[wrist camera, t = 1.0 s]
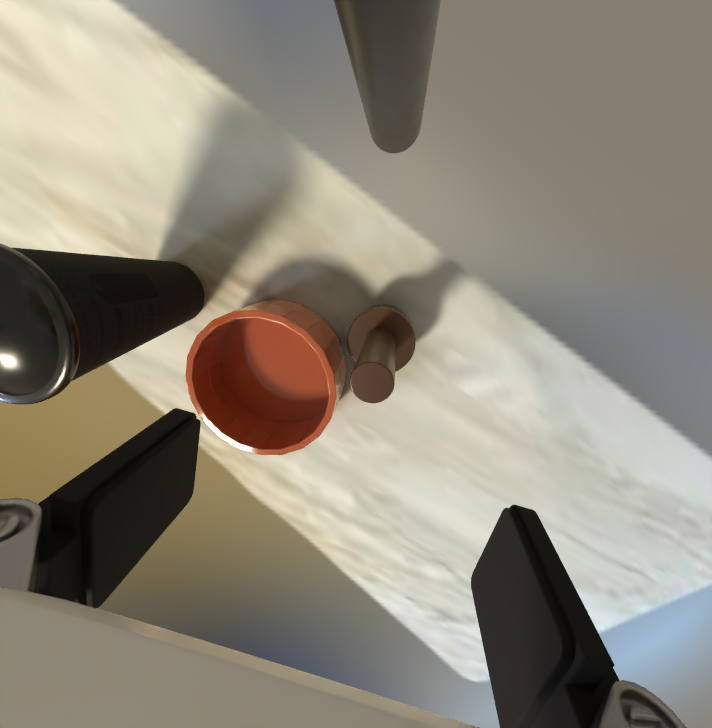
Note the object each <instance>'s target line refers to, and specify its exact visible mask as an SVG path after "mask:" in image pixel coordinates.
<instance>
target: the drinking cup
mask: <svg viewBox="0 0 712 728" xmlns="http://www.w3.org/2000/svg"><path fill="white" fill-rule="evenodd" d="M203 301H204V294H203V288H202V285H201V283H200V281H199V279H198V278H197V276H196V275H195V274H194V273H193V272H192V271H191V270H190V269H189V268H188V267H186V266H184V265H182V264H180V263H176V262H168V261H157V260H145V259H134V258H123V257H111V256H100V255H89V254H78V253H66V252H55V251H44V250H32V249H21V248H10V247H8V246H6V245H3V244H0V401H2V402H7V403H12V404H33V403H38V402H42V401H44V400H47V399H49V398H51V397H53V396H55V395H57V394H58V393H60V392H61V391H62V390H64V388H65V387H66V386H67V385H68V384H69V383H70V382H71V381H72V380H75V379H76V378H78V377H80V376H82V375H84V374H86V373H88V372H90V371H92V370H94V369H96V368H98V367H100V366H102V365H104V364H105V363H107V362H109V361H111V360H113V359H115V358H117V357H119V356H121V355H123V354H125V353H127V352H129V351H131V350H133V349H135V348H136V347H138V346H140V345H142V344H144V343H146V342H148V341H150V340H152V339H154V338H156V337H158V336H160V335H162V334H164V333H166V332H167V331H169V330H171V329H173V328H175V327H177V326H179V325H181V324H183V323H185V322H187V321H189V320H191V319H193V318H194V317H195V316H196V315H197V314H198V313H199V312H200V310H201V308H202V306H203Z"/></svg>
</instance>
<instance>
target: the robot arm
mask: <svg viewBox="0 0 712 728" xmlns="http://www.w3.org/2000/svg"><path fill="white" fill-rule="evenodd" d="M199 434H200V420H198V419H196V414H194V413H191V412H188V411H184V410H181V409H177V408H175V409H173V410H172V411H170V412H169V413H167V414H166V415H164V416H163V417H161V418H160V419H159V420H157V421H156V422H154V423H153V424H151V425H150V426H149V427H147V428H146V429H144V430H143V431H141V432H140V433H138V434H137V435H136V436H134V437H133V438H131V439H130V440H128V441H127V442H125V443H124V444H123V445H121V446H120V447H118V448H117V449H116V450H114V451H112V452H111V453H110V454H108V455H107V456H105V457H104V458H102V459H101V460H100V461H98V462H97V463H95V464H94V465H92V466H91V467H89V468H88V469H87V470H85V471H84V472H82V473H81V474H80V475H78V476H77V477H75V478H74V479H72V480H71V481H69V482H68V483H66V484H65V485H63V486H62V487H61V488H59V489H58V490H56V491H55V492H54V493H52V494H51V495H50V496H49V497H47V498H46V499H44V500H43V501H42V502H40V503H39V504H37V503H36V502H33V501H31V500H28V499H21V498H11V499H1V500H0V728H478V727H475V726H472V725H469V724H466V723H463V722H460V721H457V720H454V719H450V718H448V717H444V716H441V715H438V714H435V713H432V712H428V711H426V710H423V709H420V708H416V707H413V706H410V705H407V704H404V703H401V702H398V701H395V700H391V699H388V698H385V697H382V696H379V695H375V694H373V693H370V692H366V691H363V690H360V689H357V688H354V687H350V686H347V685H344V684H341V683H338V682H335V681H331V680H328V679H325V678H322V677H319V676H315V675H312V674H309V673H306V672H303V671H299V670H296V669H293V668H290V667H287V666H283V665H280V664H277V663H274V662H271V661H268V660H264V659H261V658H258V657H255V656H252V655H248V654H245V653H242V652H239V651H235V650H232V649H229V648H226V647H222V646H219V645H216V644H212V643H209V642H206V641H203V640H199V639H196V638H193V637H190V636H186V635H183V634H180V633H177V632H173V631H170V630H167V629H164V628H160V627H157V626H154V625H151V624H147V623H144V622H141V621H138V620H134V619H130V618H127V617H124V616H120V615H117V614H113V613H110V612H106V611H103V610H99V609H96V608H98V607H99V606H101V605H102V603H104V601H105V600H106V599H107V598H108V597H109V596H110V594H111V593H112V592H113V591H114V590H115V588H116V587H117V586H118V585H119V584H120V583H121V581H122V580H123V579H124V578H125V577H126V575H127V574H128V573H129V572H130V571H131V570H132V568H133V567H134V566H135V565H136V564H137V563H138V561H139V560H140V559H141V558H142V557H143V556H144V554H145V553H146V552H147V551H148V550H149V548H150V547H151V546H152V545H153V544H154V542H155V541H156V540H157V539H158V538H159V536H160V535H161V534H162V533H163V532H164V531H165V529H166V528H167V527H168V526H169V525H170V524H171V522H172V521H173V520H174V519H175V518H176V517H177V515H178V514H179V513H180V512H181V511H182V510H183V508H184V507H185V506H186V505H187V504H188V502H189V500H190V499H191V497H192V494H193V490H194V481H195V471H196V462H197V452H198V443H199ZM471 588H472V593H473V598H474V603H475V608H476V613H477V617H478V622H479V627H480V632H481V637H482V642H483V647H484V651H485V656H486V661H487V666H488V671H489V676H490V681H491V685H492V690H493V694H494V700H495V705H496V710H497V714H498V719H499V724H500V728H686V726H685V725H684V724H683V723H682V722H681V720H680V719H679V718H678V717H677V716H676V714H675V713H674V712H673V711H672V710H671V709H670V708H669V707H668V706H667V705H666V704H664V703H663V702H662V701H661V700H660V699H659V698H658V697H657V696H655V695H654V694H652V693H651V692H650V691H648V690H647V689H646V688H644V687H641V686H640V685H638V684H636V683H633V682H629V681H624V680H622V681H619V679H618V677H617V675H616V673H615V671H614V669H613V666H614V663H613V661H612V660H611V657H610V655H609V654H608V652H607V650H606V648H605V646H604V644H603V642H602V640H601V638H600V636H599V634H598V632H597V630H596V628H595V626H594V624H593V622H592V620H591V618H590V616H589V615H588V613H587V611H586V609H585V607H584V605H583V603H582V601H581V599H580V597H579V595H578V593H577V591H576V589H575V587H574V585H573V583H572V581H571V579H570V577H569V576H568V574H567V572H566V570H565V568H564V566H563V564H562V562H561V560H560V558H559V556H558V554H557V552H556V550H555V548H554V546H553V544H552V542H551V540H550V538H549V537H548V535H547V533H546V531H545V529H544V527H543V525H542V523H541V521H540V519H539V517H538V515H537V513H536V512H535V511H534V510H531V509H528V508H524V507H521V506H517V505H512V506H511V507H510V508H505V509H504V510H503V511H502V513H501V515H500V518H499V520H498V522H497V524H496V526H495V528H494V530H493V532H492V534H491V536H490V538H489V540H488V542H487V545H486V547H485V549H484V551H483V553H482V555H481V557H480V559H479V561H478V563H477V565H476V567H475V569H474V571H473V574H472V578H471Z"/></svg>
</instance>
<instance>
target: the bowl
mask: <svg viewBox="0 0 712 728" xmlns="http://www.w3.org/2000/svg"><path fill="white" fill-rule="evenodd" d="M345 377H346V360H345V355H344V351H343V348H342V345H341V343H340V341H339V339H338V337H337V335H336V333H335V332H334V331H333V329H332V328H331V326H330V325H329V324H328V323H327V322H326V321H325V320H324V319H323V318H322V317H320V316H319V315H318V314H317V313H315V312H314V311H312V310H310V309H309V308H307V307H304V306H302V305H300V304H297V303H294V302H289V301H284V300H269V301H262V302H257V303H254V304H252V305H249V306H247V307H244V308H241V309H239V310H236V311H233V312H231V313H229V314H226V315H224V316H222V317H219V318H217V319H215V320H213V321H211V322H210V323H209V324H208V325H207V326H206V327H205V328H204V329H203V330H202V331H201V332H200V333H199V334H198V335H197V337H196V338H195V340H194V343H193V345H192V347H191V349H190V352H189V354H188V357H187V367H186V382H187V386H188V390H189V395H190V399H191V401H192V403H193V405H194V407H195V408H196V410H197V412H198V414H199V415H200V417H201V419H202V420H203V422H204V423H205V424H206V425H207V426H208V427H209V428H210V429H211V430H212V431H213V432H214V433H215V434H216V435H217V436H219V437H220V438H221V439H223V440H225V441H227V442H228V443H230V444H232V445H233V446H235V447H237V448H239V449H242V450H245V451H249V452H252V453H256V454H259V455H283V454H286V453H289V452H293V451H296V450H299V449H302V448H304V447H305V446H307V445H308V444H309V443H311V442H312V441H313V440H315V439H316V438H318V437H319V436H320V435H321V433H322V432H323V430H324V429H325V427H326V426H327V424H328V423H329V421H330V420H331V418H332V415H333V413H334V411H335V408H336V406H337V403H338V401H339V398H340V396H341V394H342V390H343V386H344V383H345Z"/></svg>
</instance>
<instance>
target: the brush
mask: <svg viewBox="0 0 712 728" xmlns="http://www.w3.org/2000/svg"><path fill="white" fill-rule="evenodd" d="M347 345H348V350H349V353H350V355H351V357H352V359H353V360H354V361H355V363H356V364H355V367H354V369H353V372H352V374H351V377H350V386H351V389H352V391H353V393H354V394H355V395H356V396H357V397H358V398H359V399H360V400H362V401H364V402H368V403H378V402H381V401H383V400H385V399H387V398H388V397H389V396H390V395H391V393H392V391H393V389H394V381H395V371H398V370H399V369H401V368H402V367H404V366H405V365H406V364H407V363H408V362H409V360H410V359H411V357H412V355H413V352H414V349H415V333H414V329H413V327H412V324H411V323H410V321H409V320H408V318H407V316H406V315H405V314H404V313H403V312H402V311H401V310H399V309H398V308H396V307H394V306H391V305H384V304H382V305H376V306H373V307H370V308H369V309H367V310H366V311H364V312H362V313H361V314H360V315H359V316H358V317H357V318H356V319H355V320H354V322H353V324H352V325H351V327H350V329H349V332H348V337H347Z"/></svg>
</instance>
